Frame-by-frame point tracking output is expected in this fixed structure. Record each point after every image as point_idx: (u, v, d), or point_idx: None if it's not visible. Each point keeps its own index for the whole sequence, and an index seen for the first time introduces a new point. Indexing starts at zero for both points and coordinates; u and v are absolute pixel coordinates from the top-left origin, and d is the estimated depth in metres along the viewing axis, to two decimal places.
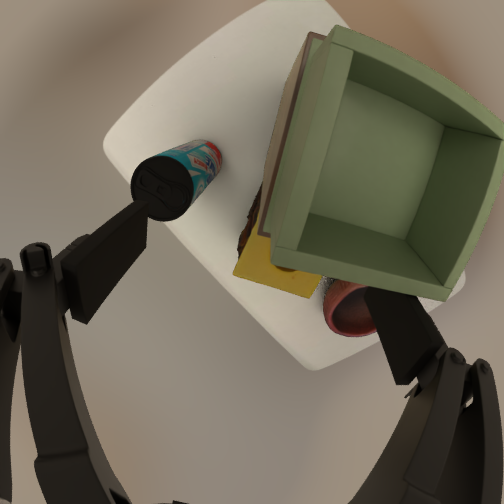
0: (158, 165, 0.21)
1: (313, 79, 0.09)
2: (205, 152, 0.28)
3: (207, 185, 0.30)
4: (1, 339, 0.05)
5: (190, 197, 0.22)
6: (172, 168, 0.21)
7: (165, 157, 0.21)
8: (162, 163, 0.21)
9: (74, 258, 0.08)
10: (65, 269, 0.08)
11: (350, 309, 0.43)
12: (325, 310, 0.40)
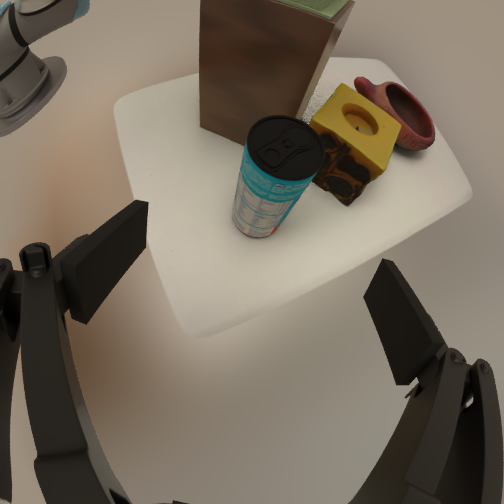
0: (258, 138, 0.19)
1: None
2: None
3: None
4: (1, 339, 0.05)
5: (301, 125, 0.20)
6: (266, 127, 0.19)
7: (252, 126, 0.19)
8: (257, 134, 0.19)
9: (74, 258, 0.08)
10: (65, 269, 0.08)
11: None
12: (414, 141, 0.34)
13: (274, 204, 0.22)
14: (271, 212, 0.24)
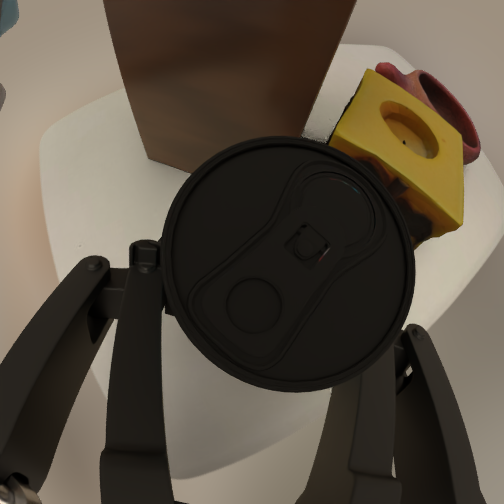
0: (204, 235, 0.06)
1: None
2: None
3: None
4: (81, 340, 0.07)
5: (339, 164, 0.07)
6: (231, 186, 0.06)
7: (181, 191, 0.06)
8: (202, 217, 0.06)
9: None
10: None
11: None
12: None
13: None
14: None
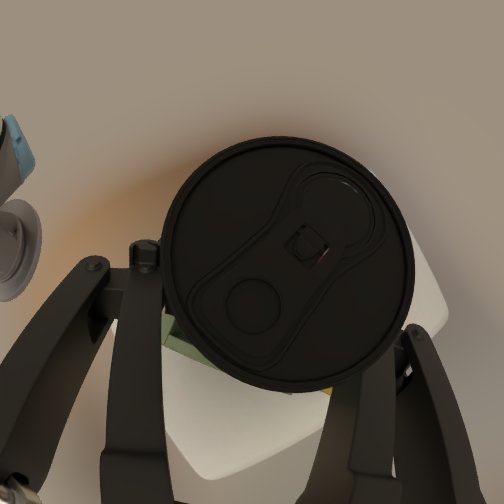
0: (204, 236, 0.06)
1: None
2: None
3: None
4: (81, 340, 0.07)
5: (339, 164, 0.07)
6: (231, 187, 0.06)
7: (181, 191, 0.06)
8: (201, 218, 0.06)
9: None
10: None
11: None
12: None
13: None
14: None
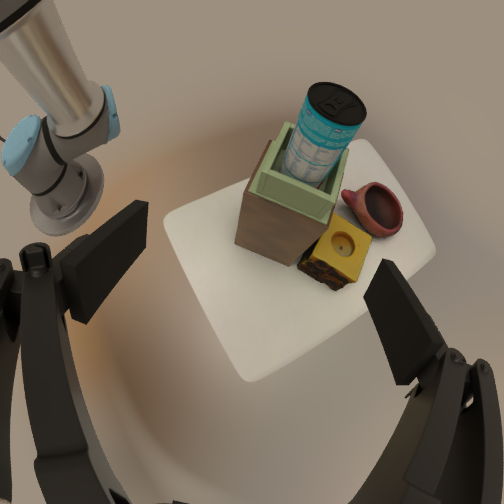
0: (316, 97, 0.22)
1: (273, 187, 0.32)
2: None
3: None
4: (1, 339, 0.05)
5: (343, 90, 0.23)
6: (319, 90, 0.22)
7: (310, 88, 0.21)
8: (314, 94, 0.22)
9: (74, 258, 0.08)
10: (65, 269, 0.08)
11: (385, 220, 0.60)
12: (384, 233, 0.55)
13: (328, 151, 0.25)
14: (324, 162, 0.27)
